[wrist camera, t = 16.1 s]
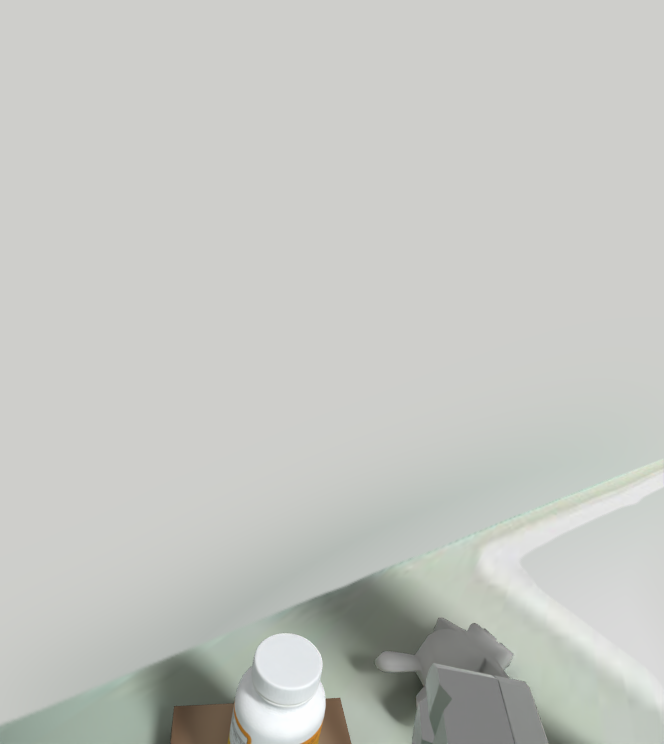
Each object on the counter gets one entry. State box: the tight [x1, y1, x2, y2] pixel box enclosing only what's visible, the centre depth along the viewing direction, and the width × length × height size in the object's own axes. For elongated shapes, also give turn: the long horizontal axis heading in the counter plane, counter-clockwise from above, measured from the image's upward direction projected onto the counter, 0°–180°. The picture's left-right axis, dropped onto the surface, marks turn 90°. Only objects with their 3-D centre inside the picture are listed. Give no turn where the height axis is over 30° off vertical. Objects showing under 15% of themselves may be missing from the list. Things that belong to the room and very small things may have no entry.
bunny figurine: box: [374, 618, 514, 709], centre depth 52 cm, size 10×5×15 cm
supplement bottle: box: [228, 633, 326, 744], centre depth 37 cm, size 6×6×11 cm
